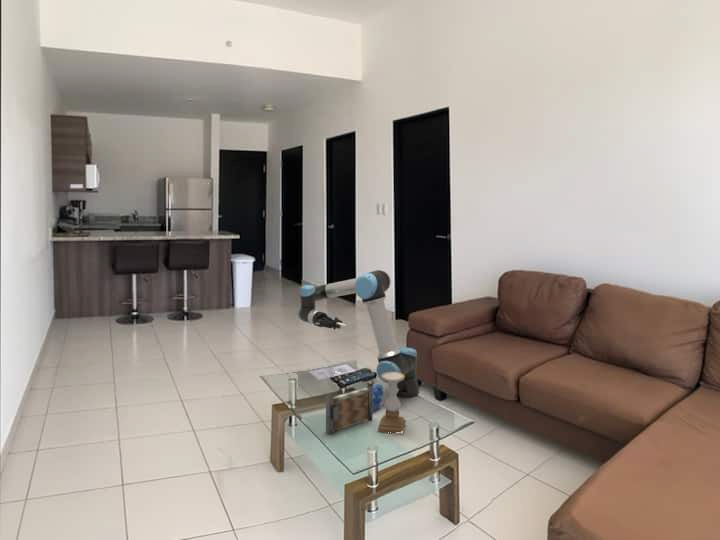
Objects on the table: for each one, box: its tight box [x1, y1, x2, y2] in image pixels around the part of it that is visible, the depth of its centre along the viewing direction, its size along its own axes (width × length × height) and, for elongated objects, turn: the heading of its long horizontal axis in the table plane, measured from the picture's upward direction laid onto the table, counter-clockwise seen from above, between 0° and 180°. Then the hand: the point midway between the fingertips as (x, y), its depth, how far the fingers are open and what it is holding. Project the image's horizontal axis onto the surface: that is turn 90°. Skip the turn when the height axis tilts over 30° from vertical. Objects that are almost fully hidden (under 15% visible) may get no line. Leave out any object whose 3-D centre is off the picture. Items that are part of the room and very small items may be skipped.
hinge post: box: [366, 380, 375, 422], centre depth 236 cm, size 3×3×18 cm
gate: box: [334, 387, 369, 432], centre depth 230 cm, size 18×2×14 cm, turn 127°
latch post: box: [325, 393, 339, 435], centre depth 223 cm, size 4×4×17 cm
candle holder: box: [377, 372, 407, 434], centre depth 228 cm, size 11×11×24 cm
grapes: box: [373, 383, 385, 412], centre depth 248 cm, size 12×7×12 cm, turn 151°
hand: (345, 327), depth 251 cm, fingers closed
